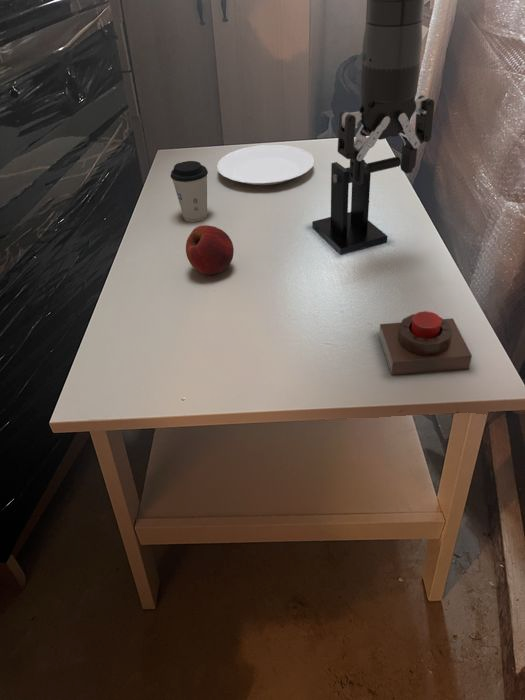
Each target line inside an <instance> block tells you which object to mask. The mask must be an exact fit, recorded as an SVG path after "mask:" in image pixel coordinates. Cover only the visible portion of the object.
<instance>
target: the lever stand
mask: <svg viewBox="0 0 525 700" xmlns="http://www.w3.org/2000/svg"><path fill="white" fill-rule="evenodd" d="M367 164H368V162H366V161H365V166H364V167H366V166H367ZM345 168H346V167H344V166H343V165H341V164H340V163H339V162H337V161H335V162H331V164H330V169H331V170H330V172H331V173H330V216H328V217H324V218H321V219H317V220H313V221H312V222H311V226H312V229H313V230H315V231H316V233H318V234H319V235H320V236H321V237H322V238H323V240H325V241H326V242H327V243H328V244H329V245H330V246H331V247H332V248H333V249H334V250H335V251H336V252H337V253H338V254H339V255H344V254H348V253H351V252H355V251H360V250H363V249H367V248H370V247H374V246H377V245H381V244H385V243H387V242H388V235H387V234H386V233H385V232H383V231H382V230H381V229H379V228H378V227H377V226H376V225H374V224H373V223H372V222H371V221H370V220H369V210H370V209H369V208H370V194H371V193H370V192H371V191H370V190H371V175H372V173H367V174H364V183H363V184H361V185H357V184H356V183H355V182H352V183H351V196H350V197H351V201H350V211H349V189H350V188H349V187H350V185H349V184H350V183H349V171H348V170H347V169H345Z"/></svg>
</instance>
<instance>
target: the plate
mask: <svg viewBox="0 0 525 700" xmlns="http://www.w3.org/2000/svg"><path fill="white" fill-rule="evenodd" d="M314 164H315V157H313V155H312V154H311V153H310V152H308V151H307V150H305V149H302V148H301V147H300V148H299V147H297V146H292V145H286V144H257V145H252V146H247V147H243V148H240V149H237V150H234V151H231V152H229V153H227V154H226V155H224V156H223V157H221V158H220V159H219V161H218V162H217V165H216V169H217V171H218V173H219V174H220V175H221V176H223V178H226V179H229V180H231V181H234V182H239V183H242V184H247V185H250V186H273V185H277V184H282V183H286V182H288V181H291V180H293V179H295V178H299V177H300V176H302V175H304V174H306V173H308V172H309V171H310V170H311V169H312V168H313V167H314Z"/></svg>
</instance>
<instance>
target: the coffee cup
mask: <svg viewBox="0 0 525 700" xmlns="http://www.w3.org/2000/svg"><path fill="white" fill-rule="evenodd" d="M208 174H209V171H208V169H207V167H206V166H205V165H203V164H202V163H201V162H199V161H197V160H187V161H181V162H177V163H176V164H174V166H173V169H172V170H171V172H170V179H172V183H173V185H174V189H175V192H176V193H175V194H176V196H177V199H178V203H179V207H180V210H181V213H182V216H183V217H182V218H183V220H185V221H186V222H189V223H191V222H192V223H196V222H200V221H203V220H205V219H206V218H207V217H208Z"/></svg>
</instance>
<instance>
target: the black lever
mask: <svg viewBox="0 0 525 700" xmlns="http://www.w3.org/2000/svg"><path fill="white" fill-rule="evenodd" d="M397 167H401V158H400V156H394V157H388V158H385V159H380V160H376V161H372V162H367V166H366V167H364V174H367V173H371V174H372V173H376V172H381V171H385V170H389V169H394V168H397ZM344 168H345V169H347V170H348V171H349V184H352V182H353V180H352V179H351V178H350V166H347V167H344Z"/></svg>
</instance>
